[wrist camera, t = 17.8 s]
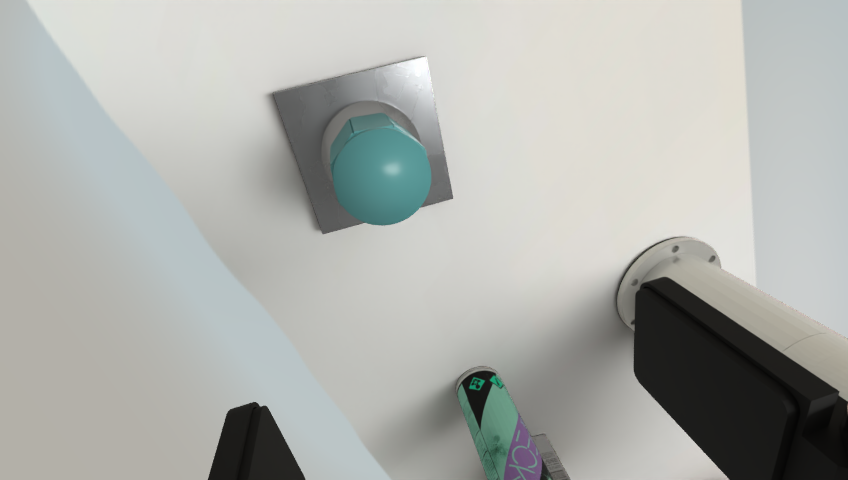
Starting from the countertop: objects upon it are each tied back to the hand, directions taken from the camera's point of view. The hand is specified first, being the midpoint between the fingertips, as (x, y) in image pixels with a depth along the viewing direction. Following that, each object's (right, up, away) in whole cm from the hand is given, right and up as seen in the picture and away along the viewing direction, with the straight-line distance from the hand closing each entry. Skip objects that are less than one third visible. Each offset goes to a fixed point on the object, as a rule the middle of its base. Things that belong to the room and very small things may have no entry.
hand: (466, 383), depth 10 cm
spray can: (+5, -13, +39) cm, 42 cm away
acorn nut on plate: (-6, +11, +25) cm, 28 cm away
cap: (-5, +10, +23) cm, 26 cm away
